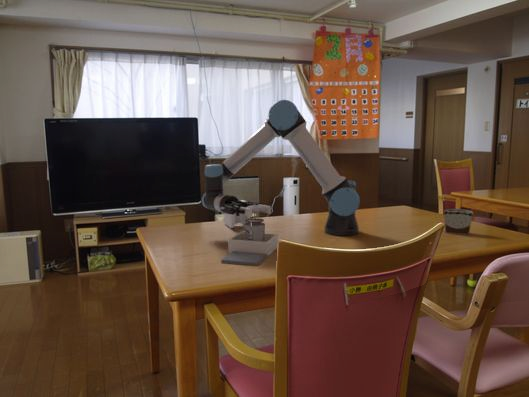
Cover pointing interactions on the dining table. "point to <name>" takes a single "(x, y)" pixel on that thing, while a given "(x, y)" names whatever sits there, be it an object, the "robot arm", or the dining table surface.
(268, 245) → the white open storage bin
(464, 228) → the food container
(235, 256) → the rubber mat
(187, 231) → the dining table surface
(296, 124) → the robot arm
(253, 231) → the french press
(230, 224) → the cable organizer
